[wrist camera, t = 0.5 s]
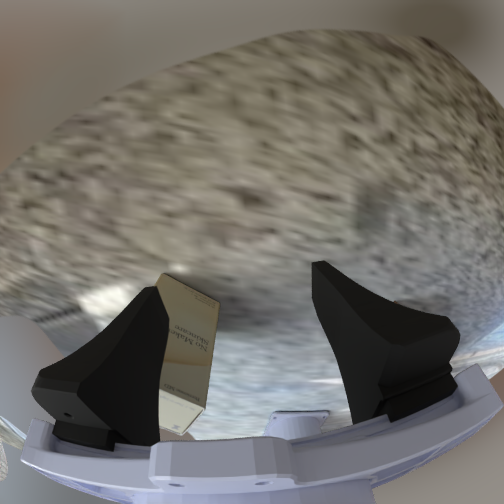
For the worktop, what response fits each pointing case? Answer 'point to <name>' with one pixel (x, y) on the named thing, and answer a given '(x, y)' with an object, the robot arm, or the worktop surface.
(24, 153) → the worktop surface
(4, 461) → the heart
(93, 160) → the worktop surface
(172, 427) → the skincare box
